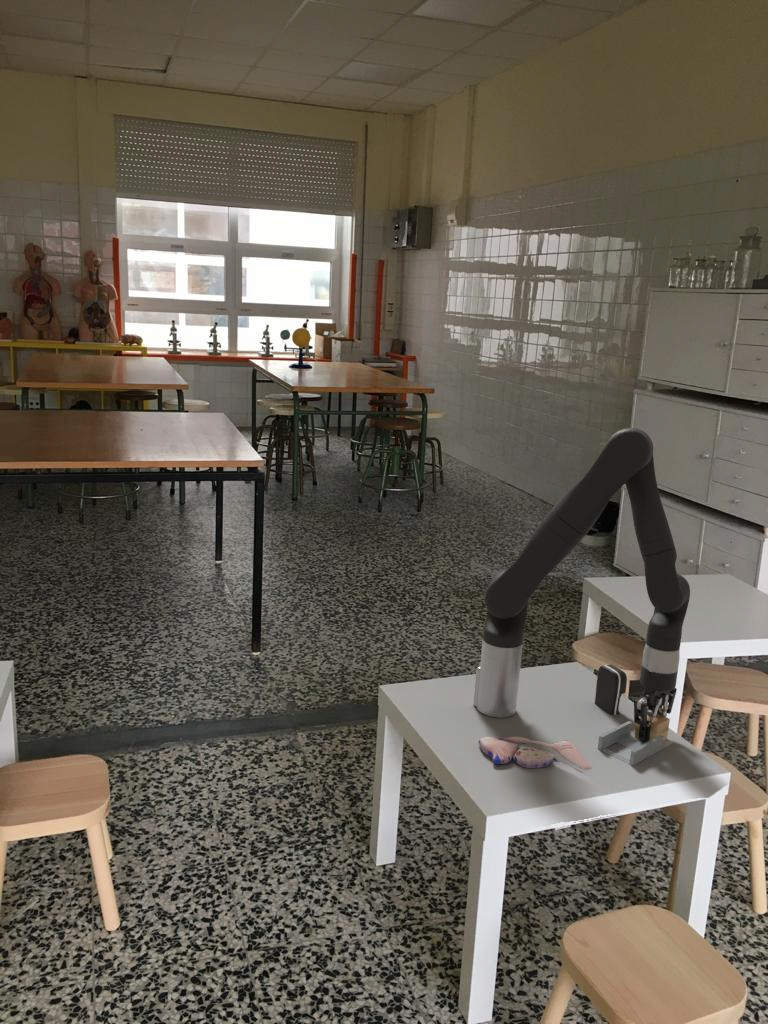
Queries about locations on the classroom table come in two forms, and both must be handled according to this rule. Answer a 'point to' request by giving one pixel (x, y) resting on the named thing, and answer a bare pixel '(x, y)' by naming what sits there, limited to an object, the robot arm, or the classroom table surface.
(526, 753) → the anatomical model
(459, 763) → the classroom table surface
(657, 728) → the oak block
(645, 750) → the channel
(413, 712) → the classroom table surface
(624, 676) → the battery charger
